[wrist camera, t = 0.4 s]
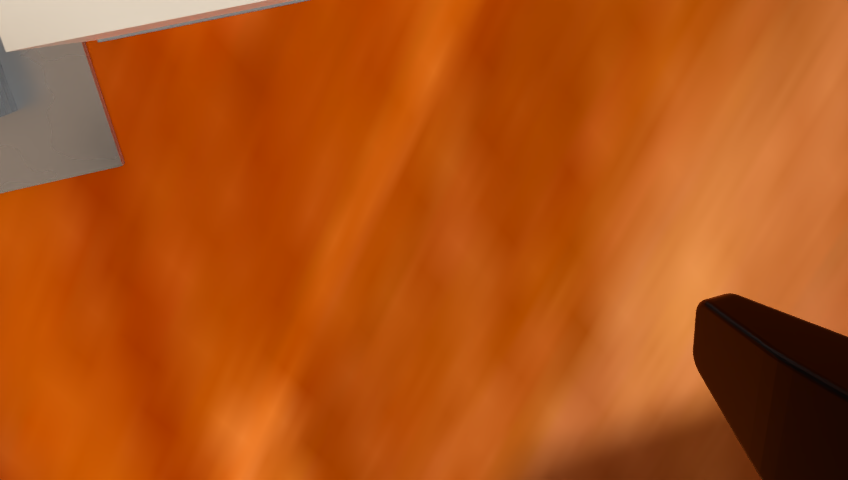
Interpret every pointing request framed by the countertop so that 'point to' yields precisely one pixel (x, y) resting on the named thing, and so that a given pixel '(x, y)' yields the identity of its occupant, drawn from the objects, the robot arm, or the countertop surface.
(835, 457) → the robot arm
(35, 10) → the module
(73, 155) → the rail mount
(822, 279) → the countertop surface
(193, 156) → the countertop surface
